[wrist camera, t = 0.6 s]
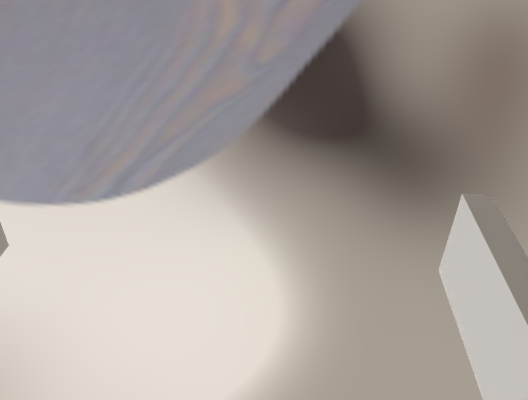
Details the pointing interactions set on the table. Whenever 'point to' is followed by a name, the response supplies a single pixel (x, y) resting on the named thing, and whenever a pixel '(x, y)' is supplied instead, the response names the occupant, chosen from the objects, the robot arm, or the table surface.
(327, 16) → the table surface
